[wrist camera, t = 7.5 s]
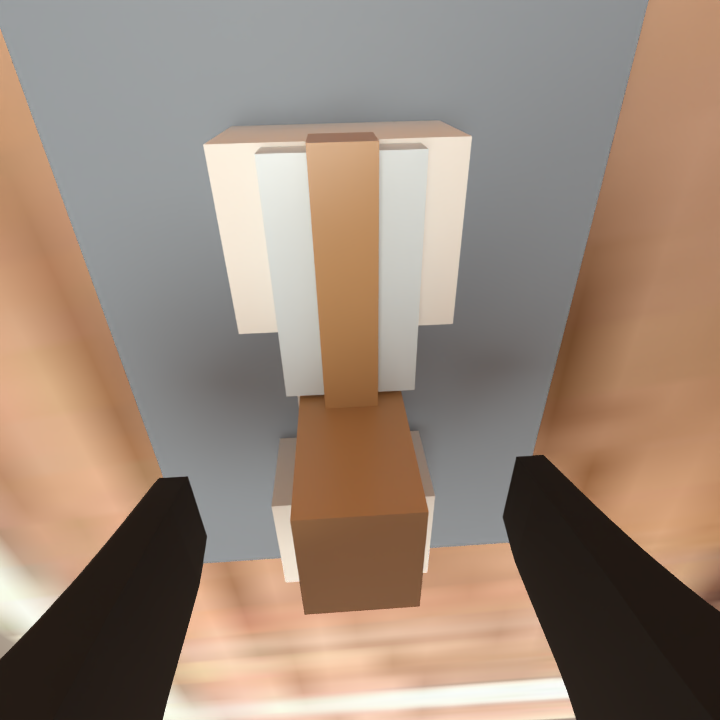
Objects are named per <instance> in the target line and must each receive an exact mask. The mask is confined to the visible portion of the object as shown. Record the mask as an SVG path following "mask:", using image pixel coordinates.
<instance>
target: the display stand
mask: <svg viewBox="0 0 720 720" xmlns="http://www.w3.org/2000/svg"><path fill="white" fill-rule="evenodd" d="M648 1H649V0H0V29H1V31H2V34H3V37H4V40H5V42H6V45H7V48H8V51H9V53H10V56H11V59H12V62H13V64H14V67H15V70H16V73H17V75H18V78H19V81H20V84H21V86H22V89H23V92H24V95H25V97H26V100H27V103H28V106H29V108H30V111H31V114H32V117H33V119H34V122H35V125H36V128H37V130H38V133H39V136H40V139H41V141H42V144H43V147H44V150H45V152H46V155H47V158H48V161H49V163H50V166H51V169H52V172H53V174H54V177H55V180H56V183H57V186H58V188H59V191H60V194H61V197H62V199H63V202H64V205H65V208H66V210H67V213H68V216H69V219H70V221H71V224H72V227H73V230H74V232H75V235H76V238H77V241H78V243H79V246H80V249H81V252H82V254H83V257H84V260H85V263H86V265H87V268H88V271H89V274H90V276H91V279H92V282H93V285H94V287H95V290H96V293H97V296H98V298H99V301H100V304H101V307H102V309H103V312H104V315H105V318H106V320H107V323H108V326H109V329H110V331H111V334H112V337H113V340H114V342H115V345H116V348H117V351H118V353H119V356H120V359H121V362H122V364H123V367H124V370H125V373H126V375H127V378H128V381H129V384H130V387H131V389H132V392H133V395H134V398H135V400H136V403H137V406H138V409H139V411H140V414H141V417H142V420H143V422H144V425H145V428H146V431H147V433H148V436H149V439H150V442H151V444H152V447H153V450H154V453H155V455H156V458H157V461H158V464H159V466H160V469H161V472H162V475H163V477H164V478H169V477H186V476H188V478H189V481H190V485H191V488H192V491H193V494H194V497H195V500H196V503H197V506H198V509H199V513H200V516H201V519H202V522H203V525H204V528H205V531H206V534H207V541H206V547H205V554H204V561H203V563H215V562H230V561H244V560H259V559H274V558H281V560H282V565H283V570H284V576H285V581H286V582H299V575H298V569H297V562H296V556H295V549H294V543H293V536H292V530H291V524H290V515H291V503H292V490H293V478H294V465H295V453H296V440H297V428H298V415H299V402H300V396H287V397H286V390H285V382H284V374H283V367H282V359H281V352H280V344H279V337H278V329H277V321H276V314H275V306H274V299H273V291H272V284H271V276H270V268H269V261H268V253H267V246H266V238H265V231H264V223H263V215H262V208H261V200H260V193H259V185H258V178H257V170H256V162H255V155H254V154H255V153H256V151H257V150H258V149H259V148H260V147H279V146H306V144H305V143H306V139H307V135H308V134H317V133H354V132H373V133H374V134H375V136H376V137H377V138H378V140H379V144H385V143H420V142H421V143H422V144H423V145H424V146H426V147H427V148H428V149H429V152H428V169H427V186H426V203H425V220H424V237H423V254H422V270H421V287H420V304H419V321H418V338H417V355H416V372H415V389H414V390H403V391H401V393H402V398H403V402H404V406H405V411H406V415H407V419H408V424H409V428H410V433H411V437H412V441H413V446H414V450H415V454H416V459H417V463H418V467H419V472H420V476H421V480H422V485H423V489H424V494H425V498H426V502H427V507H428V511H429V515H428V525H427V535H426V545H425V556H424V566H423V573H427V570H428V561H429V551H430V548H436V547H451V546H465V545H480V544H495V543H509V539H508V536H507V532H506V528H505V525H504V521H503V512H504V508H505V504H506V499H507V495H508V491H509V486H510V482H511V478H512V473H513V469H514V465H515V460H516V457H518V456H532V455H533V451H534V447H535V443H536V439H537V435H538V431H539V427H540V423H541V419H542V416H543V412H544V408H545V404H546V400H547V396H548V392H549V388H550V384H551V380H552V376H553V372H554V369H555V365H556V361H557V357H558V353H559V349H560V345H561V341H562V337H563V333H564V329H565V325H566V322H567V318H568V314H569V310H570V306H571V302H572V298H573V294H574V290H575V286H576V282H577V279H578V275H579V271H580V267H581V263H582V259H583V255H584V251H585V247H586V243H587V239H588V235H589V232H590V228H591V224H592V220H593V216H594V212H595V208H596V204H597V200H598V196H599V192H600V188H601V185H602V181H603V177H604V173H605V169H606V165H607V161H608V157H609V153H610V149H611V145H612V141H613V138H614V134H615V130H616V126H617V122H618V118H619V114H620V110H621V106H622V102H623V98H624V95H625V91H626V87H627V83H628V79H629V75H630V71H631V67H632V63H633V59H634V55H635V51H636V48H637V44H638V40H639V36H640V32H641V28H642V24H643V20H644V16H645V12H646V8H647V4H648Z"/></svg>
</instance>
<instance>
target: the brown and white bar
mask: <svg viewBox="0 0 720 720" xmlns="http://www.w3.org/2000/svg"><path fill="white" fill-rule="evenodd" d="M305 144H306V146H279V147H260V148H259V149H258V150H257V151H256V153H255V154H254V155H255V162H256V170H257V178H258V185H259V193H260V200H261V208H262V215H263V223H264V231H265V238H266V246H267V253H268V261H269V268H270V276H271V284H272V291H273V299H274V306H275V314H276V321H277V329H278V337H279V344H280V352H281V359H282V367H283V374H284V382H285V390H286V397H287V396H300V402H299V415H298V428H297V440H296V453H295V465H294V478H293V490H292V503H291V515H290V524H291V530H292V536H293V543H294V549H295V556H296V562H297V569H298V575H299V581H300V588H301V594H302V601H303V607H304V614H305V615H306V614H320V613H334V612H348V611H361V610H375V609H389V608H403V607H417V606H420V597H421V586H422V576H423V566H424V556H425V545H426V535H427V525H428V515H429V511H428V507H427V502H426V498H425V494H424V489H423V485H422V480H421V476H420V472H419V467H418V463H417V459H416V454H415V450H414V446H413V441H412V437H411V433H410V428H409V424H408V419H407V415H406V411H405V406H404V402H403V398H402V393H401V391H403V390H414V389H415V372H416V355H417V338H418V321H419V304H420V287H421V270H422V254H423V237H424V220H425V203H426V186H427V169H428V152H429V149H428V148H427V147H426V146H424V145H423V144H422V143H421V142H420V143H385V144H379V140H378V138H377V137H376V136H375V134H374V133H373V132H354V133H317V134H308V135H307V139H306V143H305Z"/></svg>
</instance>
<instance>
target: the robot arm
mask: <svg viewBox="0 0 720 720" xmlns="http://www.w3.org/2000/svg"><path fill="white" fill-rule="evenodd" d="M503 521H504V525H505V528H506V532H507V536H508V539H509V543H510V546H511V550H512V553H513V557H514V560H515V563H516V566H517V568H518V571H519V573H520V576H521V578H522V581H523V583H524V585H525V588H526V590H527V593H528V595H529V598H530V600H531V603H532V605H533V607H534V610H535V612H536V615H537V617H538V619H539V622H540V624H541V627H542V629H543V632H544V634H545V636H546V639H547V641H548V644H549V646H550V648H551V651H552V653H553V656H554V658H555V661H556V663H557V665H558V668H559V670H560V673H561V676H562V679H563V681H564V684H565V687H566V689H567V692H568V695H569V698H570V701H571V704H572V707H573V711H574V714H575V717H576V720H720V612H719V611H718V610H717V609H715V608H714V607H713V606H711V605H710V604H709V603H707V602H706V601H705V600H703V599H702V598H701V597H700V596H698V595H697V594H696V593H695V592H693V591H692V590H691V589H690V588H688V587H687V586H686V585H685V584H683V583H682V582H681V581H680V580H679V579H677V578H676V577H675V576H674V575H673V574H671V573H670V572H669V571H668V570H667V569H665V568H664V567H663V566H662V565H661V564H660V563H658V562H657V561H656V560H655V559H654V558H652V557H651V556H650V555H649V554H648V553H647V552H646V551H644V550H643V549H642V548H641V547H640V546H639V545H638V544H636V543H635V542H634V541H633V540H632V539H631V538H630V537H629V536H628V535H627V534H626V533H624V532H623V531H622V530H621V529H620V528H619V527H618V526H617V525H616V524H615V523H614V522H612V521H611V520H610V519H609V518H608V517H607V516H606V515H605V514H604V513H603V512H602V511H601V510H600V509H599V508H597V507H596V506H595V505H594V504H593V503H592V502H591V501H590V500H589V499H588V498H587V497H586V496H585V495H584V494H583V493H582V492H581V491H580V490H579V489H578V488H577V487H576V486H575V485H574V484H573V483H572V482H571V481H570V480H569V479H568V478H567V477H565V476H564V475H563V474H562V473H561V472H560V471H559V470H558V469H557V468H556V467H555V466H554V465H553V464H552V463H551V462H550V461H549V460H548V459H547V458H546V457H545V456H544V455H535V456H518V457H516V460H515V465H514V469H513V473H512V478H511V482H510V486H509V491H508V495H507V499H506V504H505V508H504V512H503ZM206 541H207V534H206V531H205V528H204V525H203V522H202V519H201V516H200V513H199V509H198V506H197V503H196V500H195V497H194V494H193V491H192V488H191V485H190V481H189V478H188V476H186V477H169V478H159V479H158V480H157V481H156V482H155V483H154V484H153V486H152V487H151V488H150V489H149V491H148V492H147V493H146V494H145V496H144V497H143V498H142V499H141V501H140V502H139V503H138V504H137V506H136V507H135V508H134V509H133V511H132V512H131V513H130V514H129V516H128V517H127V518H126V519H125V521H124V522H123V523H122V524H121V526H120V527H119V528H118V529H117V530H116V532H115V533H114V534H113V535H112V537H111V538H110V539H109V540H108V541H107V543H106V544H105V545H104V546H103V547H102V549H101V550H100V551H99V552H98V553H97V554H96V556H95V557H94V558H93V559H92V560H91V562H90V563H89V564H88V565H87V566H86V567H85V569H84V570H83V571H82V572H81V573H80V574H79V576H78V577H77V578H76V579H75V580H74V581H73V582H72V584H71V585H70V586H69V587H68V588H67V589H66V590H65V591H64V592H63V593H62V594H61V596H60V597H59V598H58V599H57V600H56V601H55V602H54V603H53V604H52V605H51V607H50V608H49V609H48V610H47V611H46V612H45V613H44V614H43V615H42V616H41V618H40V619H39V620H38V621H37V622H36V623H35V624H34V625H33V626H32V627H31V628H30V629H29V630H28V631H27V632H26V633H25V634H24V635H23V636H22V638H21V639H20V640H19V641H18V642H17V643H16V644H15V645H14V646H13V647H12V648H11V649H10V650H9V651H8V652H7V653H6V654H5V655H4V656H3V657H2V658H1V659H0V720H163V716H164V712H165V708H166V704H167V700H168V696H169V692H170V689H171V685H172V682H173V678H174V675H175V671H176V668H177V664H178V660H179V657H180V653H181V650H182V646H183V643H184V639H185V635H186V632H187V628H188V625H189V621H190V618H191V614H192V610H193V607H194V603H195V599H196V596H197V592H198V588H199V584H200V579H201V573H202V567H203V561H204V554H205V547H206Z"/></svg>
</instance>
